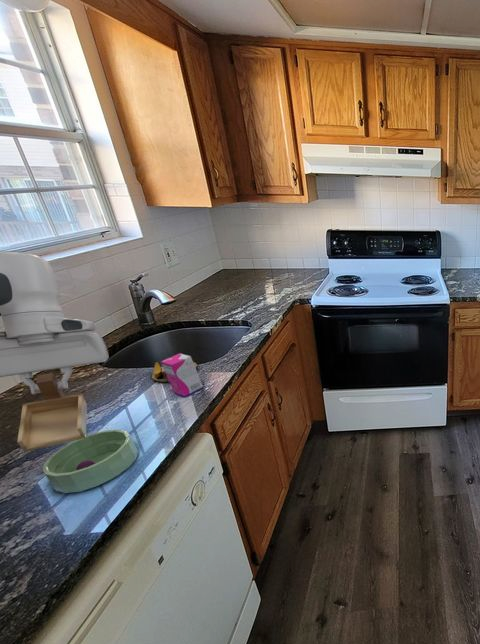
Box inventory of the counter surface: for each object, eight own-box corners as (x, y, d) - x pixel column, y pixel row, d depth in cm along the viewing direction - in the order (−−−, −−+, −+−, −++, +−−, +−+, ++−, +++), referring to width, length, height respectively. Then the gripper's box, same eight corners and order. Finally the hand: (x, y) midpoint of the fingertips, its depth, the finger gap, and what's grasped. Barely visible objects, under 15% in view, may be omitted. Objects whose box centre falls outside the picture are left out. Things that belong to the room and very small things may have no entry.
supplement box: (192, 384, 116) (180, 352, 111) (204, 388, 114) (191, 356, 109) (173, 393, 112) (159, 360, 107) (185, 398, 109) (171, 364, 104)
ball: (84, 473, 79) (82, 459, 80) (74, 478, 80) (71, 464, 80) (100, 470, 82) (97, 457, 83) (89, 474, 83) (87, 461, 83)
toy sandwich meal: (197, 360, 131) (192, 349, 129) (198, 376, 121) (194, 364, 119) (154, 371, 124) (148, 359, 122) (152, 389, 114) (146, 376, 112)
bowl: (44, 505, 75) (30, 486, 72) (67, 461, 86) (56, 443, 84) (132, 477, 81) (122, 458, 79) (143, 439, 92) (134, 422, 90)
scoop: (30, 405, 80) (13, 378, 75) (87, 395, 85) (74, 369, 80) (24, 452, 73) (4, 425, 68) (86, 438, 79) (72, 412, 73)
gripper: (-48, 334, 69) (-32, 405, 70) (97, 320, 81) (110, 381, 82) (-32, 337, 75) (-17, 402, 75) (103, 323, 86) (115, 380, 87)
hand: (50, 391), depth 79 cm, fingers closed on scoop, 2 cm apart
